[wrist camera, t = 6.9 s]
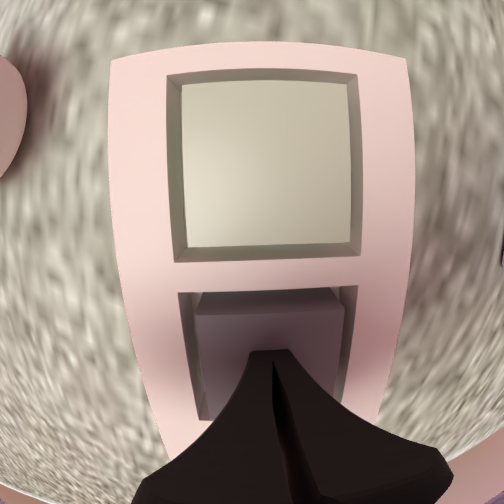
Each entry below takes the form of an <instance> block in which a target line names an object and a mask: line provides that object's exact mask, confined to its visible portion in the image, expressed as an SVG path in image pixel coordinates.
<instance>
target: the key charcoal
mask: <svg viewBox="0 0 504 504" xmlns="http://www.w3.org/2000/svg"><path fill="white" fill-rule="evenodd" d="M344 314H345V308H344V307H343V305H342V304H341V302H340V301H339V300H338V298H337V297H336V295H335V294H334V293H333V291H332V290H331V288H330V287H319V288H301V289H280V290H256V291H224V292H203V293H202V296H201V299H200V302H199V305H198V308H197V311H196V313H195V321H196V329H197V337H198V345H199V352H200V359H201V366H202V373H203V379H204V386H205V392H206V398H207V404H208V410H209V415H210V420H215V419H216V417H217V416H218V415H219V413H220V412H221V411H222V409H223V408H224V406H225V405H226V404H227V402H228V400H229V399H230V397H231V395H232V394H233V392H234V390H235V389H236V387H237V385H238V383H239V381H240V379H241V377H242V374H243V372H244V370H245V367H246V365H247V362H248V358H249V353H250V352H252V351H260V350H279V349H289V350H290V351H291V352H292V353H293V355H294V356H295V357H296V359H297V360H298V361H299V363H300V364H301V365H302V366H303V368H304V369H305V370H306V371H307V372H308V373H309V374H310V375H311V377H312V378H313V379H314V380H315V381H316V382H317V383H318V384H319V385H320V386H321V387H322V388H323V389H324V390H325V391H326V392H327V393H329V394H330V395H331V396H332V397H333V394H334V388H335V382H336V376H337V369H338V363H339V355H340V348H341V340H342V332H343V323H344Z"/></svg>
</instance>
